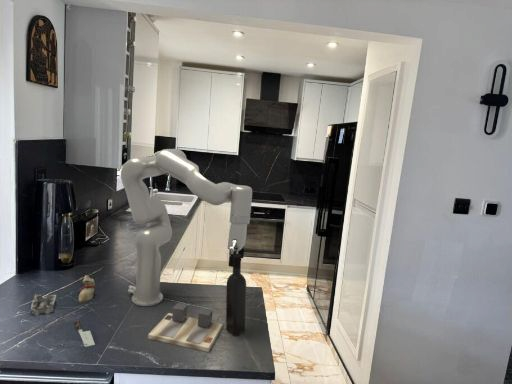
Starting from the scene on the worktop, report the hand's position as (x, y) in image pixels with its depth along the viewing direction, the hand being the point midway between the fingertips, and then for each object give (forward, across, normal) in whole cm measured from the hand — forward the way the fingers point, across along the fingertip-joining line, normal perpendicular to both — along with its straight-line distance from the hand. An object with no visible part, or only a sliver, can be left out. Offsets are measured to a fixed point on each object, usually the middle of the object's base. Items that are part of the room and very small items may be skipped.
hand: (236, 261), depth 128 cm
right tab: (+22, +10, -8) cm, 25 cm away
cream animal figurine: (+24, +5, -61) cm, 66 cm away
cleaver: (+25, +25, -45) cm, 57 cm away
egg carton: (+24, +17, -70) cm, 76 cm away
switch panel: (+24, +14, -13) cm, 31 cm away
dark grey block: (+22, +9, -18) cm, 30 cm away
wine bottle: (+24, +7, +4) cm, 25 cm away
